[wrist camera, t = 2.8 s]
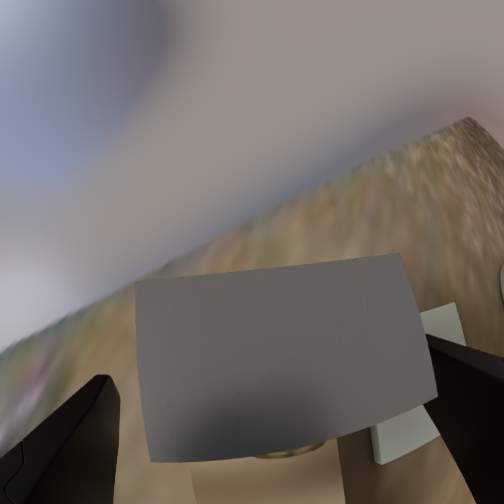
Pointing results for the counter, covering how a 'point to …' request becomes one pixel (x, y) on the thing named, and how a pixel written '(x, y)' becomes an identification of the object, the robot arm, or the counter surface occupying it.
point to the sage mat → (417, 420)
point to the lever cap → (277, 357)
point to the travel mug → (502, 280)
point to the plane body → (272, 479)
